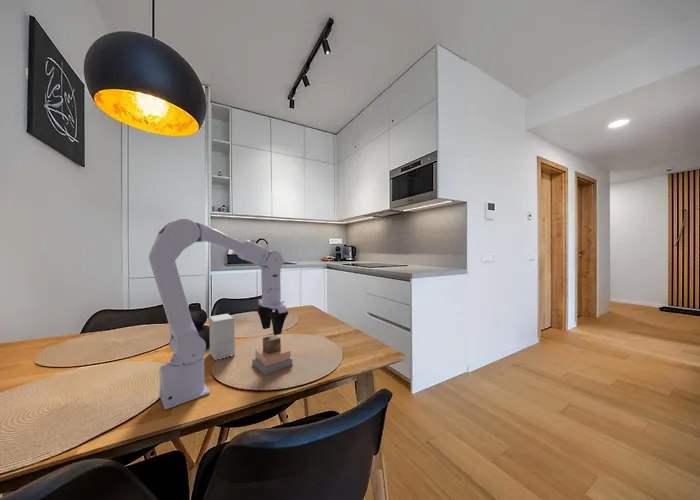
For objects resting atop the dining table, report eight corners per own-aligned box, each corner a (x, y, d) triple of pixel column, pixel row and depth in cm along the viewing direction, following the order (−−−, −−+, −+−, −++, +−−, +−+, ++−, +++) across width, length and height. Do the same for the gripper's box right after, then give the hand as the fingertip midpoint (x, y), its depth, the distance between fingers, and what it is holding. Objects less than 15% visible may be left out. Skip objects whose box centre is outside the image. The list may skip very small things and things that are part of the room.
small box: (235, 355, 88) (234, 317, 88) (214, 361, 84) (213, 321, 84) (228, 348, 94) (228, 313, 94) (209, 353, 90) (208, 316, 90)
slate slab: (265, 376, 75) (265, 368, 75) (252, 366, 81) (252, 358, 81) (292, 366, 81) (292, 358, 81) (278, 357, 88) (278, 350, 88)
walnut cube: (268, 354, 78) (268, 341, 78) (263, 350, 81) (262, 338, 81) (280, 350, 81) (280, 337, 81) (274, 347, 84) (274, 334, 84)
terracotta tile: (265, 366, 76) (265, 358, 76) (255, 357, 82) (255, 350, 82) (290, 358, 81) (290, 350, 81) (279, 350, 87) (279, 343, 87)
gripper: (294, 289, 79) (295, 333, 79) (272, 284, 89) (272, 323, 90) (272, 292, 74) (273, 339, 74) (252, 287, 84) (252, 328, 85)
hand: (271, 331), depth 81 cm, fingers open, 7 cm apart
